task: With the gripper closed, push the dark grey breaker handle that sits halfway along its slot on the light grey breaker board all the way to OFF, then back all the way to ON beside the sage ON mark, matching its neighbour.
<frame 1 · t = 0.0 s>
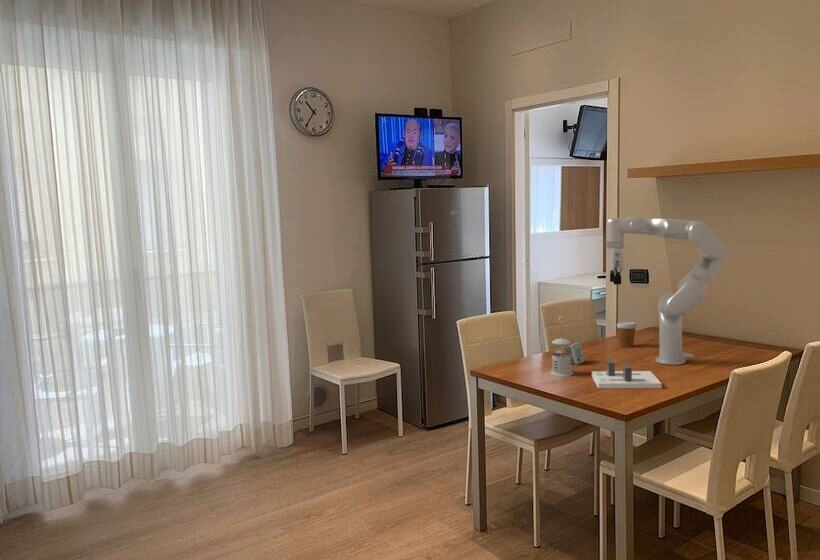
hand: (615, 283, 289), 37 cm above the table, tool pointing down, fingers open, 9 cm apart
breaker board: (625, 381, 260), on the table
disposable coffee cup: (626, 346, 325), on the table
electrical switch: (575, 363, 296), on the table
french press: (561, 373, 279), on the table
tripped handle: (627, 373, 256), point 5 cm above the table, slide at 0.0 cm
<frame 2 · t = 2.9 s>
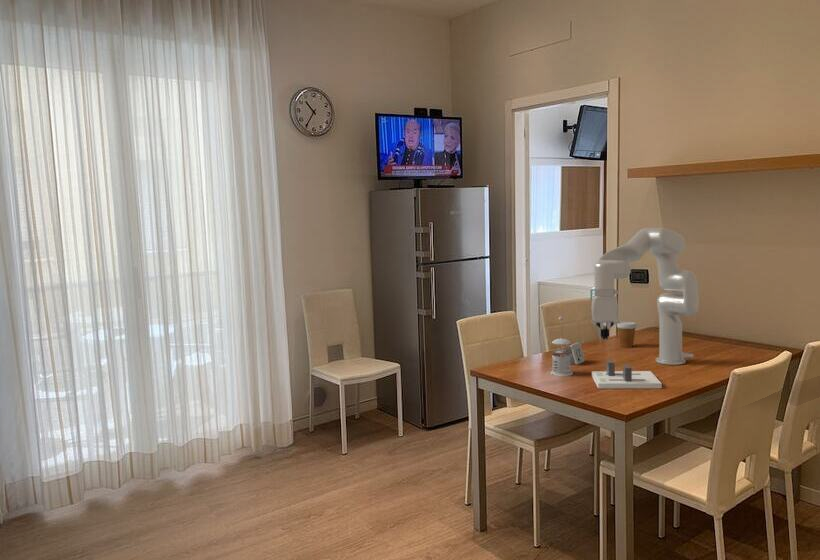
hand: (605, 338, 255), 19 cm above the table, tool pointing down, fingers closed
nothing on the table moved.
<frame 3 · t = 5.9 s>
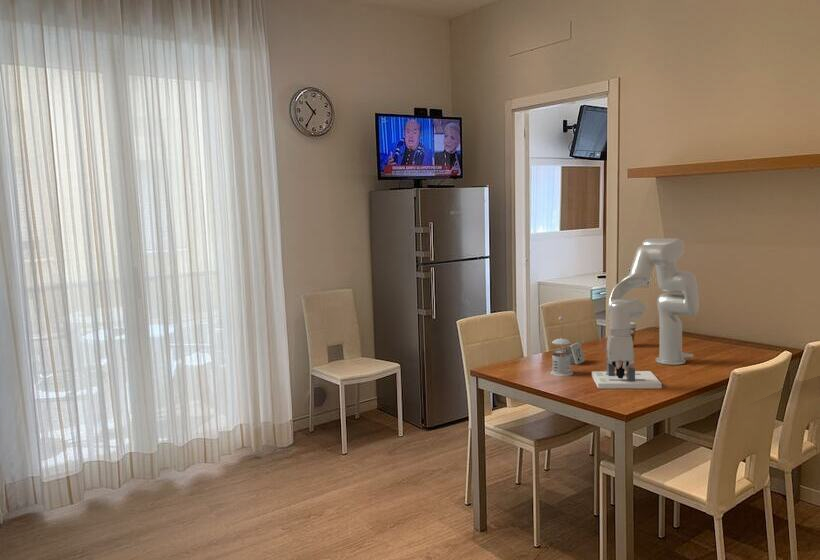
hand: (620, 377, 256), 3 cm above the table, tool pointing down, fingers closed
tripped handle: (630, 373, 255), point 5 cm above the table, slide at -1.3 cm, touching gripper
everything else where it was.
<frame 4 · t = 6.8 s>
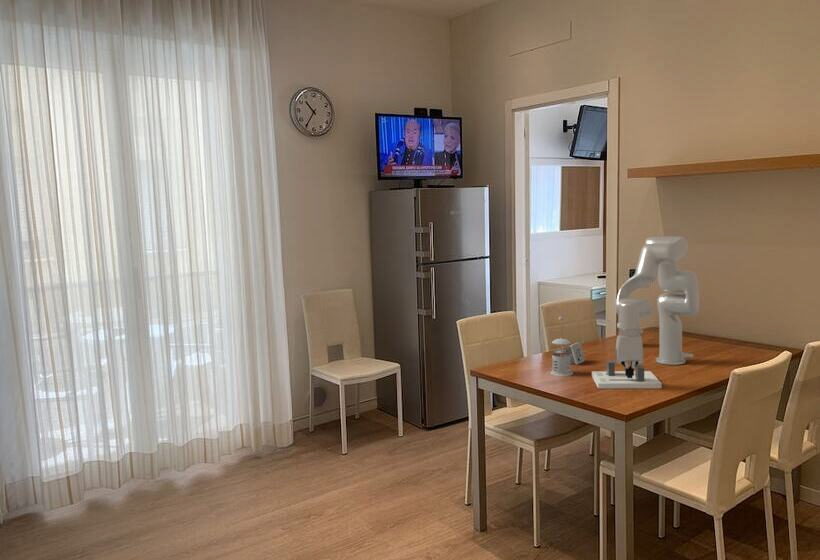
hand: (629, 377, 256), 3 cm above the table, tool pointing down, fingers closed
tripped handle: (639, 372, 255), point 5 cm above the table, slide at -4.8 cm, touching gripper
everything else where it was.
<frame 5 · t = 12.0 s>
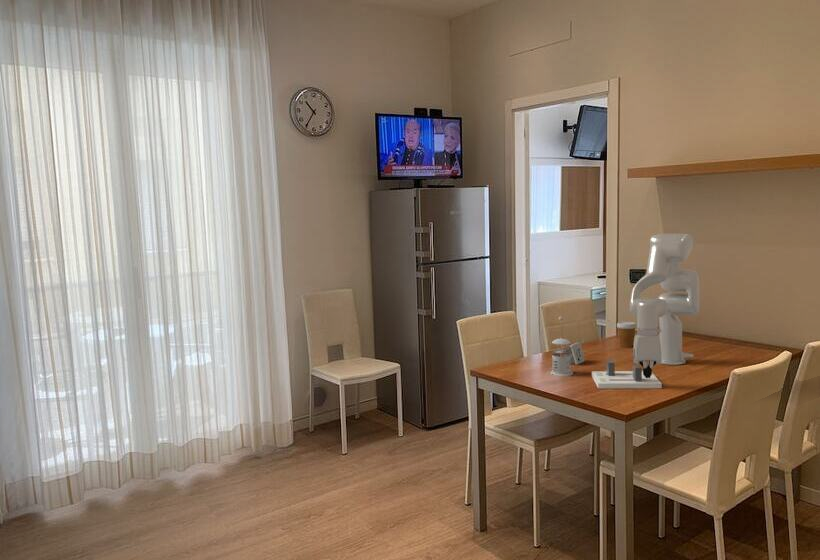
hand: (647, 377, 255), 3 cm above the table, tool pointing down, fingers closed
tripped handle: (637, 372, 255), point 5 cm above the table, slide at -3.8 cm, touching gripper
everything else where it was.
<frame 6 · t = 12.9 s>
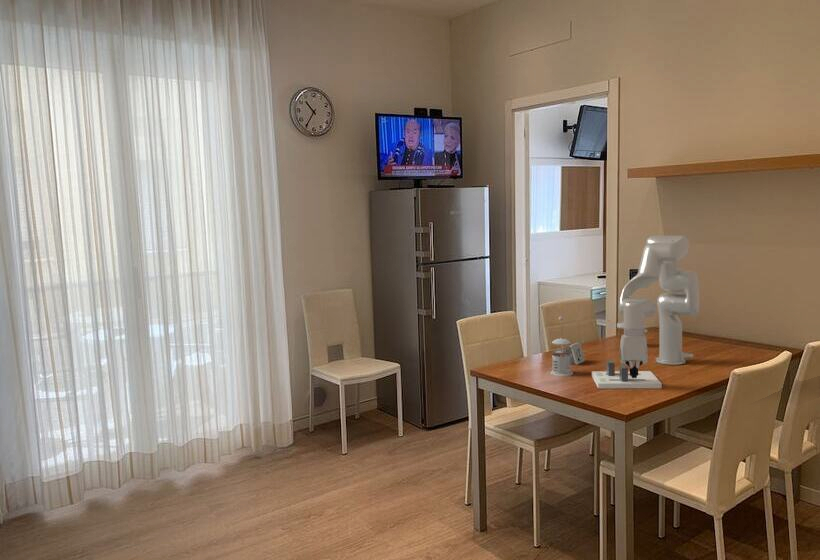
hand: (633, 377, 255), 3 cm above the table, tool pointing down, fingers closed
tripped handle: (623, 373, 256), point 5 cm above the table, slide at 1.4 cm, touching gripper
everything else where it was.
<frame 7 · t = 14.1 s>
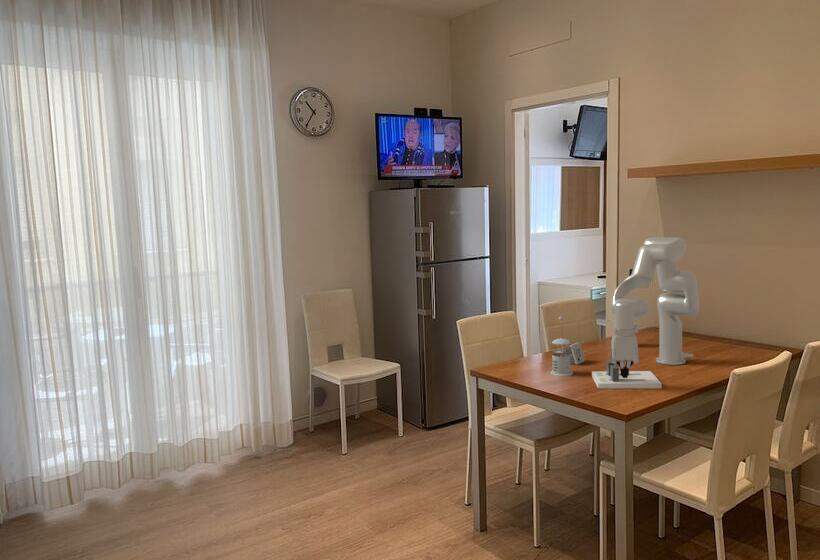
hand: (624, 377, 256), 3 cm above the table, tool pointing down, fingers closed
tripped handle: (614, 373, 256), point 5 cm above the table, slide at 4.9 cm, touching gripper
everything else where it was.
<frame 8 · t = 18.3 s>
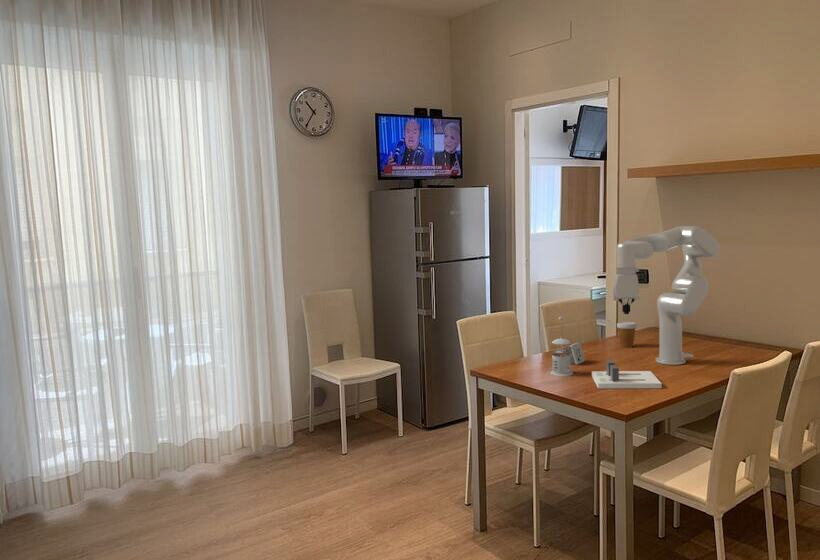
hand: (626, 313, 275), 25 cm above the table, tool pointing down, fingers closed
tripped handle: (614, 373, 256), point 5 cm above the table, slide at 4.9 cm
everything else where it was.
at the end: tripped handle slide at 4.9 cm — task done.
